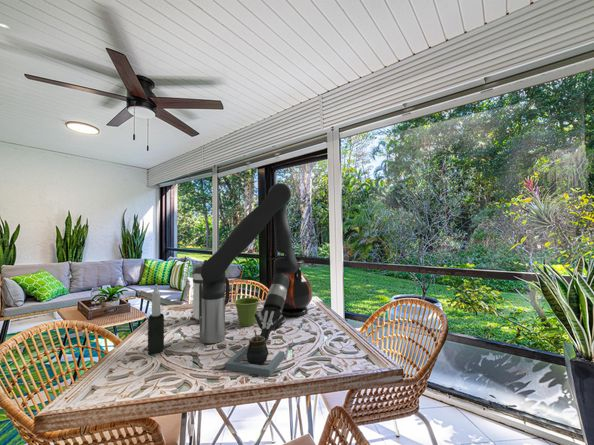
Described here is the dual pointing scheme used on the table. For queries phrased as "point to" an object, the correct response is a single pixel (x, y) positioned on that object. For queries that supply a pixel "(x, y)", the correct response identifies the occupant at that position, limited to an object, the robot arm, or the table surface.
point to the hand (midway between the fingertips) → (263, 340)
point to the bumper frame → (251, 368)
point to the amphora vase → (297, 293)
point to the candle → (155, 326)
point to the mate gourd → (257, 350)
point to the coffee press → (198, 292)
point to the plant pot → (246, 310)
